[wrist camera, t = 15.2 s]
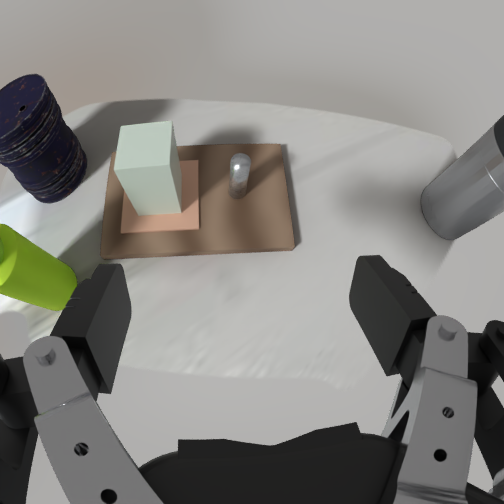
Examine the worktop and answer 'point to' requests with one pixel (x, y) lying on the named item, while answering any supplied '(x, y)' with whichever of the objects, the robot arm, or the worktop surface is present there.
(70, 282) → the lime green stepped cylinder
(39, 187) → the dark blue ridged cylinder
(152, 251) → the walnut board
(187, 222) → the terracotta pad
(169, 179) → the pale mint tall block
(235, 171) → the steel post
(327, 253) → the worktop surface
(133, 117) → the worktop surface
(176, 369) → the worktop surface
